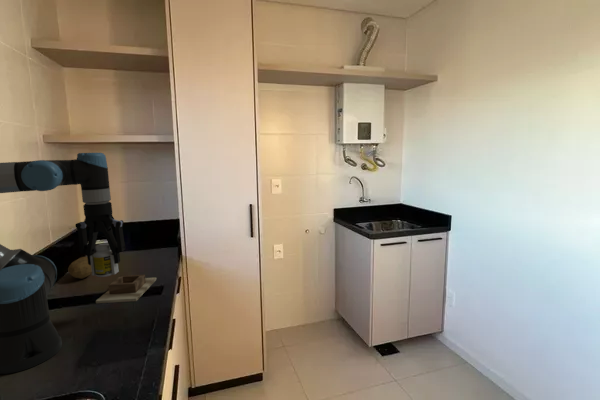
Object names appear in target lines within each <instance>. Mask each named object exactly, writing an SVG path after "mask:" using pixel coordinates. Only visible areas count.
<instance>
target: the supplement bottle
mask: <svg viewBox="0 0 600 400" xmlns="http://www.w3.org/2000/svg"><path fill="white" fill-rule="evenodd" d="M93 254H94V264H95V273H96V275H95V276H96V277H98V278H106V277H110V276H112V268H111V259H110V255H111V254H112V251H111V249H110V246H109V244H108V242H107V243H100V244H99V243H98V244H96V245H95V251H94V253H93Z"/></svg>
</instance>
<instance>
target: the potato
mask: <svg viewBox="0 0 600 400" xmlns="http://www.w3.org/2000/svg"><path fill="white" fill-rule="evenodd" d="M67 270H68V273H69V275H70V276H72V277H74V278H75V279H80V280H81V279H85V278H87V277H88V276H90V275H92V269H91V265H89V264H88V258H87V256H80V257H79V258H78V259H75V260H74V261H72V262H71V263H70V264H69V266H68V268H67Z"/></svg>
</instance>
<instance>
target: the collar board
mask: <svg viewBox="0 0 600 400" xmlns="http://www.w3.org/2000/svg"><path fill="white" fill-rule="evenodd" d="M156 281H157V277H146V274H145V273H144V274H129V275H125V274H124V275H120V276H118V277H117V278H116V279H114V280H113V281H112V282H111V283H110V284H109V285H108V290H107V291H106V292H105V293H103V294H102V295H101V296H99V298H97V299H96V300H95V304H107V303H108V304H112V303H126V302H127V303H128V302H129V303H130V302H137V301H138V300H139V299H140V298H141V297H142V296H143V294H144V293H146V292H147V290H149V289H150V287H151V286H152V285H153V284H154V283H155V282H156Z"/></svg>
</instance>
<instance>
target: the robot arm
mask: <svg viewBox="0 0 600 400" xmlns="http://www.w3.org/2000/svg"><path fill="white" fill-rule="evenodd" d="M72 185H73V186H74V185H76V186H77V185H80V189H81V197H82V200H81V201H82V203H83V206H82V207H83V215H84V216H85V217H84V221H80V222H76V223H75V228H76V230H77V236H78V237H77V238H78V247H79V254H81V255H86V257H87V258H88V264H89V265H91V269H92V273H91V276H92V277H93V276H96V273H95V264H94V253H95V251H96V249H95V246H96V245H97V244H96V243H97V239H98V234H99V232H100V233H102V234H103V235H104V236H105V239H106V242H107V244H109V246H110V249H109V250H111V251H112V254H111V255H110V259H111V268H112V275H114V276H115V275H116V274H117V273H119V272H120V271H119V263H120V262H121V256H120V253H122V252H123V251H125V250H126V243H125V237H124V230H123V229H124V228H123V227H124V220H122V219H121V220H120V219H119V220H117V219H115V218H114V216H113V206H112V205H113V204H112V202H111V199H112V198H111V197H112V196H111V188H110V180H109V168H108V163H107V157H106V155H105V154H104V153H102V152H78V153H77V155H76V158H75V159H49V160H48V159H47V160H45V159H40V160H31V161H11V162H9V161H8V162H0V194H7V193H19V192H34V191H36V192H37V191H38V192H45V191H46V192H47V191H51V190H54V189H56V188H57V187H59V186H72ZM112 226H114V227H115V228H114V232H115V233H113V228H112ZM87 227H88V228H89V230H88V233H87ZM87 234H88V235H87ZM114 234H115V235H114ZM112 275H111V276H112ZM57 277H58V269H57V266H56V265H55V263H54V261H52V259H50V258H48V257H46V256H43V255H38V254H36V255H35V254H34V255H32V254H31V253H29V252H27V251H26V250H24V249H22V248H17V249H10V248H8V247H6V246H5V245H2V244H1V243H0V375H7V374H13V373H18V372H22V371H25V370H28V369H31V368H34V367H35V366H38V365H40V364H42V363H45V361H47V360H49V359H50V358H52V357H54V356H55V355H56V354H58V352H60V350H61V348H62V346H63V345H62V344H63V342H62V341H63V340H62V337H61V335H60V333H59V332H58V331H57V329H56V327H55V325H54V323H53V322H52V321H51V317H50V316H51V315H50V309H49V304H48V296H49V294H50V292H51V290H52V288H53V287H54V286H55V284H56V281H57Z"/></svg>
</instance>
